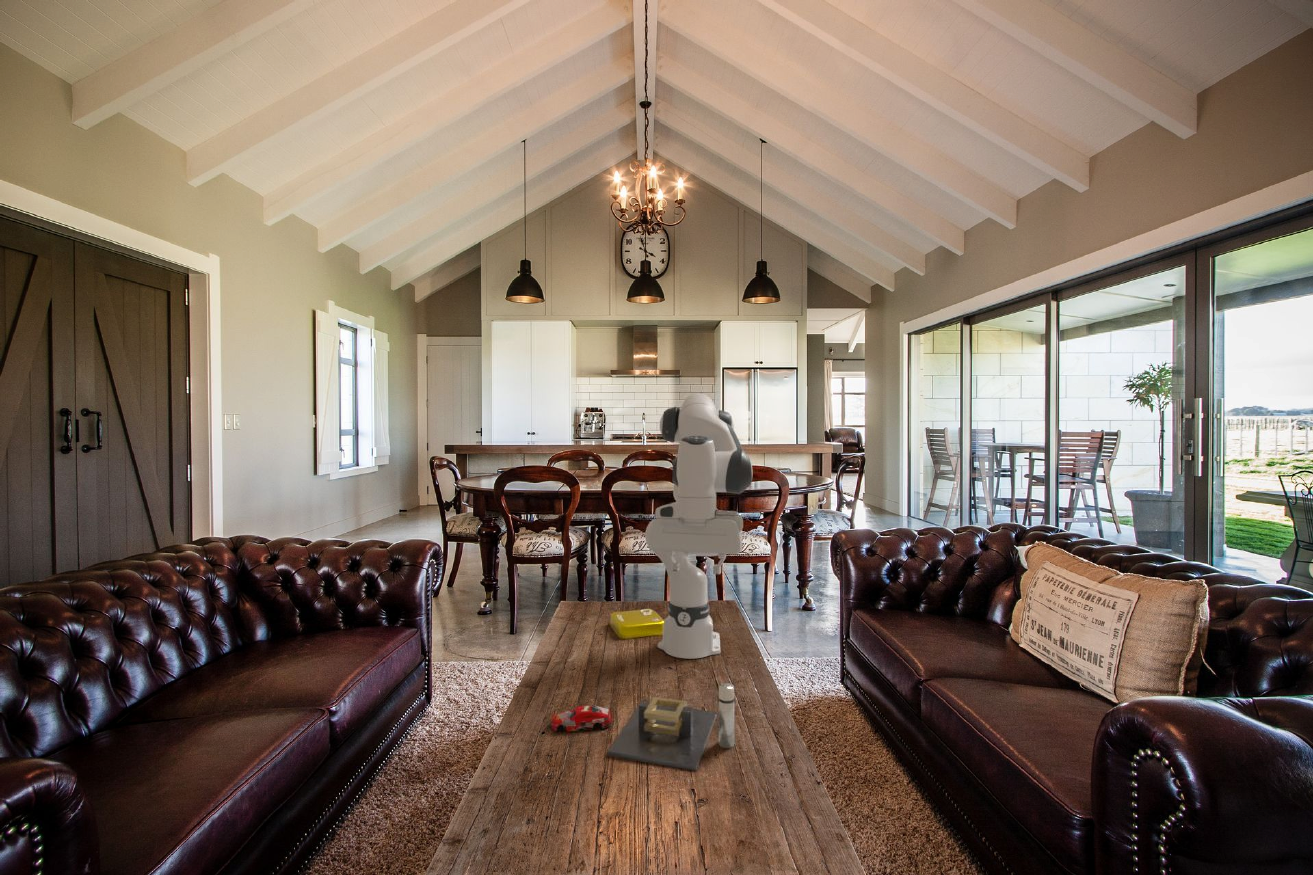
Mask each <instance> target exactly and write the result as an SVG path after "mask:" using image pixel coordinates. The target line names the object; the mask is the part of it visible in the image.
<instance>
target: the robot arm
mask: <svg viewBox="0 0 1313 875" xmlns="http://www.w3.org/2000/svg"><path fill="white" fill-rule="evenodd" d="M734 429H735V426H734V421H733V419H732V415H731V413H730V412H727V411H725V410H721V409H718V410H717V407H716V405H715V403H714V401H713V399H712V398H711V397H710V396H708V395H706V394H704V393H700V392H698V393H697V392H696V393H693V394H691V395H689V396H687V397H686V398H685V399H684V401H683V402H682V405H681V406H680V407H677V406H674V407H669V408H667V409H665V410H664V411H663V414H662V415H661V417H660V420H659V430H660V434H661V438H663V439H664V441H667V442H669V443H673V444H674V443H678V450H677V456H676V457H675V458H674V459H673V460H672V462H671V464H672V481H671V482H672V483H673V490H672V491H673V492H672V494H673V498H674V500H675V502H674V501H673V502H669V503H667V504H664V505H661V506H659V507H657V508H656V509H655V511H654V512H655V517H656V518H653V519H652V520H651V521H650V522H648V525H647V526H646V528H645V529H646V530H645V534H644V538H645V539H644V540H645V543H646V546H647V547H648V548H649V550H650V551H651V552H652V553H654V554H655V555H656V556H657V557H658V559H660V561H661V562H662V564H663V566H664V567H665V570H666V573H667V576H668V585H669V586H668V587H669V601H668V604H667V610H668V616H667V617H666V618H665V619H663V620H664V623H663V634H662V640H661V641H658V642H657V648H658V649H660V650H663V651H664V652H665V653H666V654H667V655H670V656H671V657H675V658H679V659H686V660H687V659H689V660H690V659H700V658H701V659H702V658H705V657H708V656H713V655H720V654H721V651H722V650H721V640H720V639H721V637H720V633H719V632H717V631H714V624H713V618H712V617H711V616H710V605H709V602H710V601H709V598H708V578H707V575H706V573H705V572H704V571H703V570H702V569H701V568H699V567H697V566H695V565H694V564H692V563H691V562H690V561H689V559H688V557H689V556H693V557H694V556H695V557H717V558H718V559H720V560H719V561H718V563H717V564H714V565H713V566H712V574H713V575H721V573H722V565H723V563H724V561H725V560H726V558H727V555H739V553H741V552H742V550H743V537H742V530H743V528H744V518H743V516H742V515H741V514H740V513H738V512H737V511H736V510H719V509H718V510H717V493H726V494H737V495H740V494H742V493H744V492H745V491H746V490H747V489H748V488H749V487H750V486H751V485H752V481H753V472H754V471H753V465H752V462H751V459H750V457H749V456H748V454H747V453H746V452H745V450H744V448H743V447H742V444H741V442H740V440H739V438H738V436H737V434H736V432H735V430H734ZM687 556H688V557H687Z"/></svg>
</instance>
